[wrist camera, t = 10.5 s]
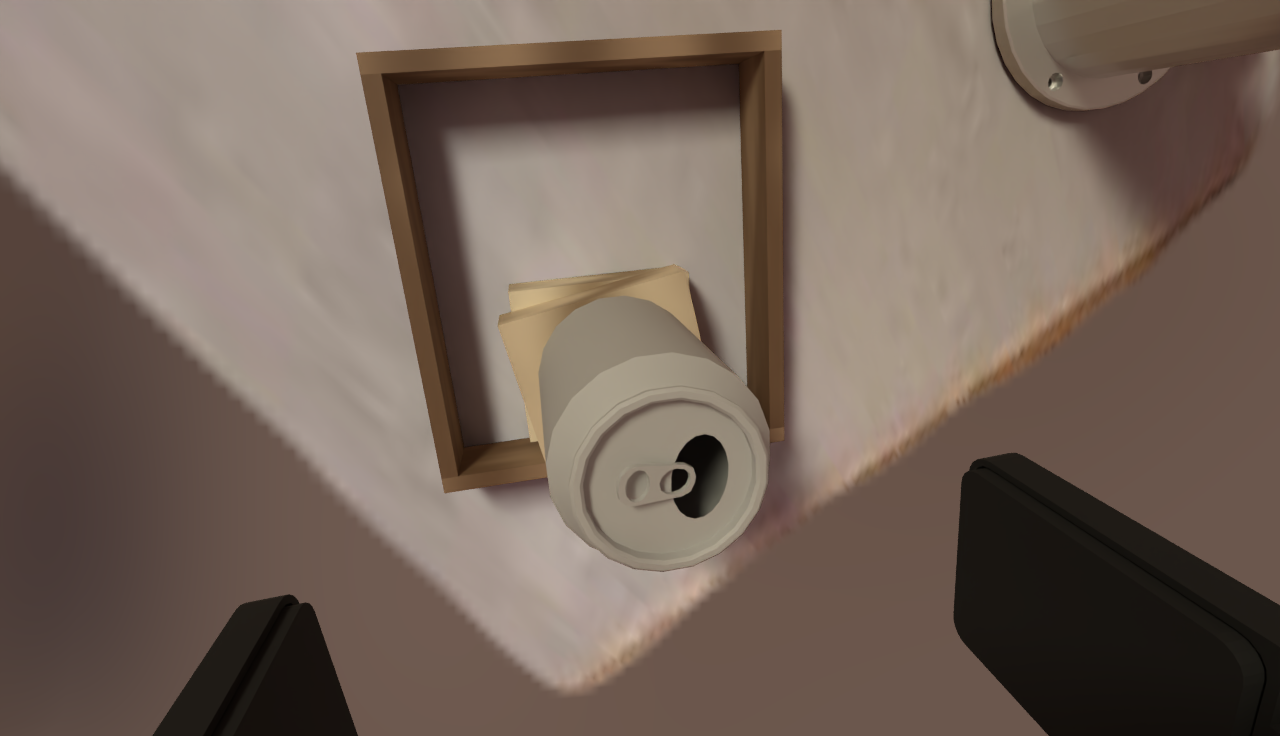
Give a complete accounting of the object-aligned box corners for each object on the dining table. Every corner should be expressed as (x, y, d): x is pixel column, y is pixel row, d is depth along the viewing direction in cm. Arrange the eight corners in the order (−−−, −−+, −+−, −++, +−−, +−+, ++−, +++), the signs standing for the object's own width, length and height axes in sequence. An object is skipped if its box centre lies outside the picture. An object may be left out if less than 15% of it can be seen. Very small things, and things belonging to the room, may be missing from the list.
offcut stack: (688, 255, 33) (711, 267, 29) (696, 410, 36) (719, 440, 32) (496, 276, 32) (492, 291, 28) (520, 435, 35) (520, 470, 31)
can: (684, 440, 32) (773, 588, 20) (535, 440, 30) (543, 600, 19) (699, 295, 30) (809, 371, 18) (540, 288, 28) (552, 366, 17)
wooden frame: (753, 45, 31) (781, 30, 28) (760, 416, 37) (784, 440, 34) (375, 66, 28) (356, 52, 25) (451, 462, 35) (444, 493, 31)
